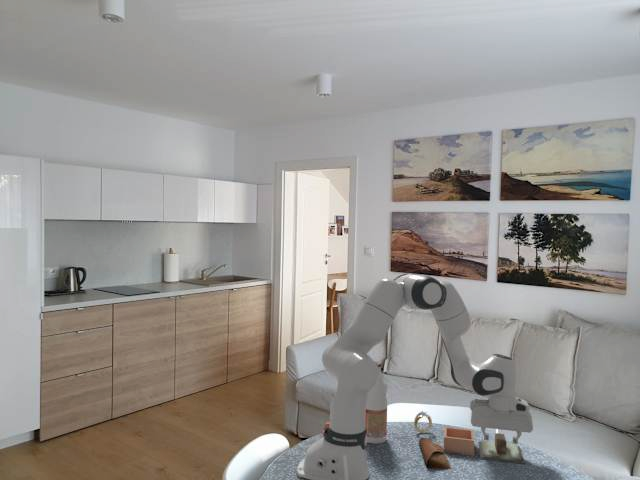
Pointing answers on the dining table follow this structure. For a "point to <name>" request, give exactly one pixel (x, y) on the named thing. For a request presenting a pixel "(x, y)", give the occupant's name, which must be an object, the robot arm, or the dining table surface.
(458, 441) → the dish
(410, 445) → the dining table surface
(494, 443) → the lid
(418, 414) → the ring
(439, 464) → the sunglasses case
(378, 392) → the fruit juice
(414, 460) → the dining table surface
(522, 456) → the mat
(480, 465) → the dining table surface
